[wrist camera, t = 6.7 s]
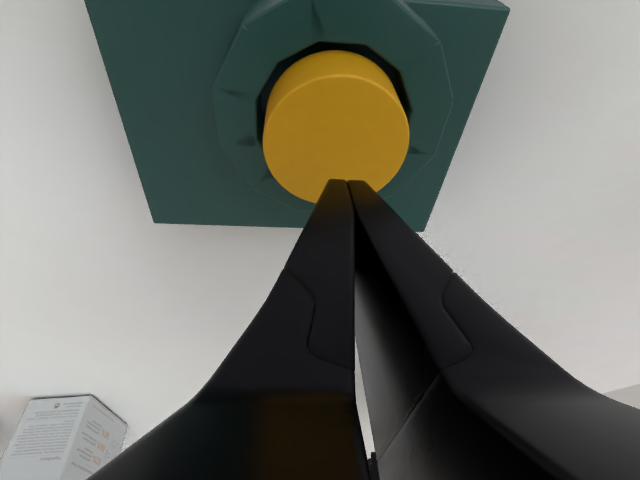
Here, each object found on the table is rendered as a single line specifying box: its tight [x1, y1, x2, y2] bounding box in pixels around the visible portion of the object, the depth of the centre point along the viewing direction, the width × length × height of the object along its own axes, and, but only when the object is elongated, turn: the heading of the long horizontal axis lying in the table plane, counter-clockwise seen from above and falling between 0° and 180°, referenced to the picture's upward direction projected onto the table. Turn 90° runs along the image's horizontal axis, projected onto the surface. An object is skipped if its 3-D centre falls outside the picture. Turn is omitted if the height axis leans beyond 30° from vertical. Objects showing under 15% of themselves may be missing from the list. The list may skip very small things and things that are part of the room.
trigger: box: [263, 50, 410, 203], centre depth 11 cm, size 4×4×2 cm
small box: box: [0, 396, 128, 480], centre depth 32 cm, size 8×6×10 cm
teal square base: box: [84, 0, 510, 232], centre depth 13 cm, size 10×12×4 cm
